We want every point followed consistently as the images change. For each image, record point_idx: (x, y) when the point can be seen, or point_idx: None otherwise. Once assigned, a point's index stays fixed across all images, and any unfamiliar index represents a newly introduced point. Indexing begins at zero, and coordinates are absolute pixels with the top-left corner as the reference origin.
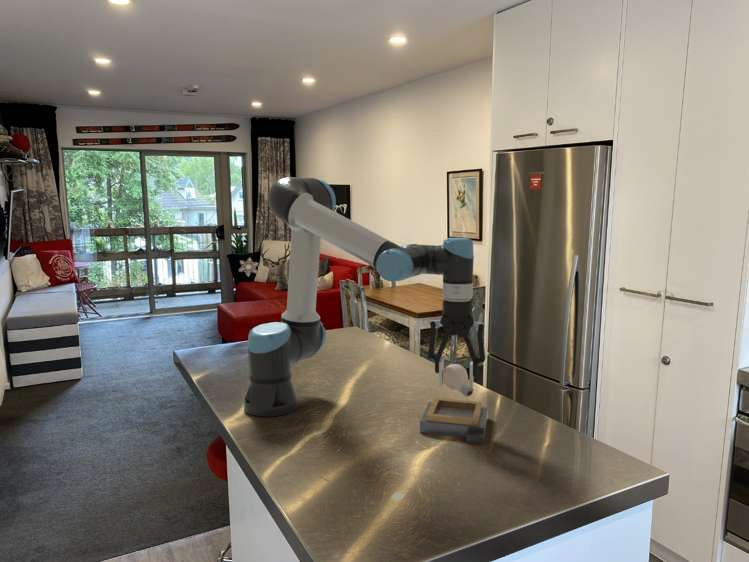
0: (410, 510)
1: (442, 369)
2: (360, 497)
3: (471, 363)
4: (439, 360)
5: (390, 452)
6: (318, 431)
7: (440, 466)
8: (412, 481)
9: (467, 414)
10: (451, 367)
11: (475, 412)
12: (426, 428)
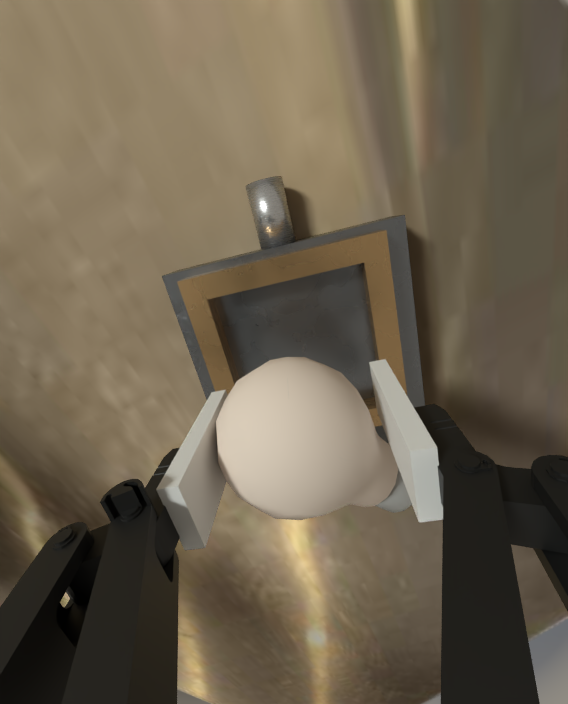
0: (351, 657)
1: (213, 479)
2: (266, 654)
3: (427, 498)
4: (175, 545)
5: (225, 534)
6: (26, 512)
7: (348, 546)
8: (319, 601)
9: (343, 331)
10: (278, 513)
11: (384, 358)
12: None
